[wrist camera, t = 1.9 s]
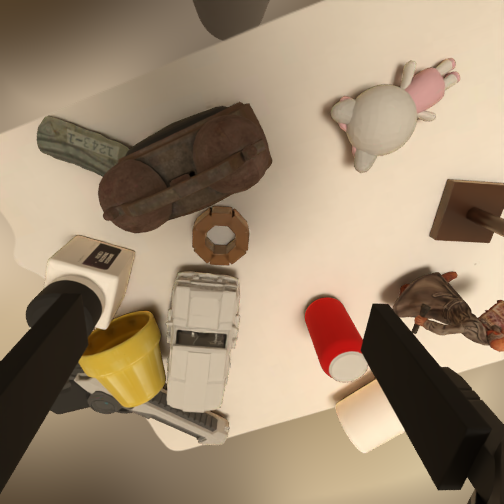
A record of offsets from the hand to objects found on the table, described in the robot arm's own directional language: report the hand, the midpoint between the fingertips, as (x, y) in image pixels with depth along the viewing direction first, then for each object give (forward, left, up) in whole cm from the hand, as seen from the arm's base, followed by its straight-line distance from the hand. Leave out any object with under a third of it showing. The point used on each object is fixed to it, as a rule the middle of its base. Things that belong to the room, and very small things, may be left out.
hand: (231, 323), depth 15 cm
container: (+13, -17, -29) cm, 36 cm away
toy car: (+21, -3, -29) cm, 36 cm away
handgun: (+44, -18, -28) cm, 55 cm away
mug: (+33, +24, -22) cm, 46 cm away
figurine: (+14, +30, -29) cm, 44 cm away
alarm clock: (-4, -4, -29) cm, 29 cm away
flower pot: (+28, -10, -22) cm, 38 cm away
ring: (+6, -1, -29) cm, 30 cm away
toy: (-11, +18, -29) cm, 36 cm away
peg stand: (+1, +32, -29) cm, 43 cm away
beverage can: (+19, +15, -29) cm, 38 cm away
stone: (-5, -15, -28) cm, 32 cm away
